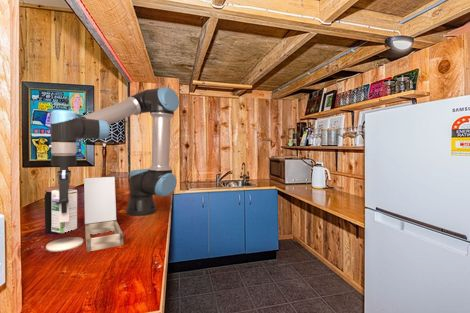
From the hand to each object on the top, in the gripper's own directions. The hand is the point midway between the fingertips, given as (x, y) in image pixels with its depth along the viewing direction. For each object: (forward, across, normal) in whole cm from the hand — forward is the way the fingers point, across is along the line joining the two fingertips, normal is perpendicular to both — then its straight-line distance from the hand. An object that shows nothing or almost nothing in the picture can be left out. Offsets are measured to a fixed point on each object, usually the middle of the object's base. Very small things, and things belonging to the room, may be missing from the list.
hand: (64, 218), depth 90 cm
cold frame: (+10, +1, +12) cm, 15 cm away
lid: (-4, -11, +12) cm, 16 cm away
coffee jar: (+10, -19, -2) cm, 22 cm away
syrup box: (+4, 0, 0) cm, 4 cm away
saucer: (+10, 0, 0) cm, 10 cm away
